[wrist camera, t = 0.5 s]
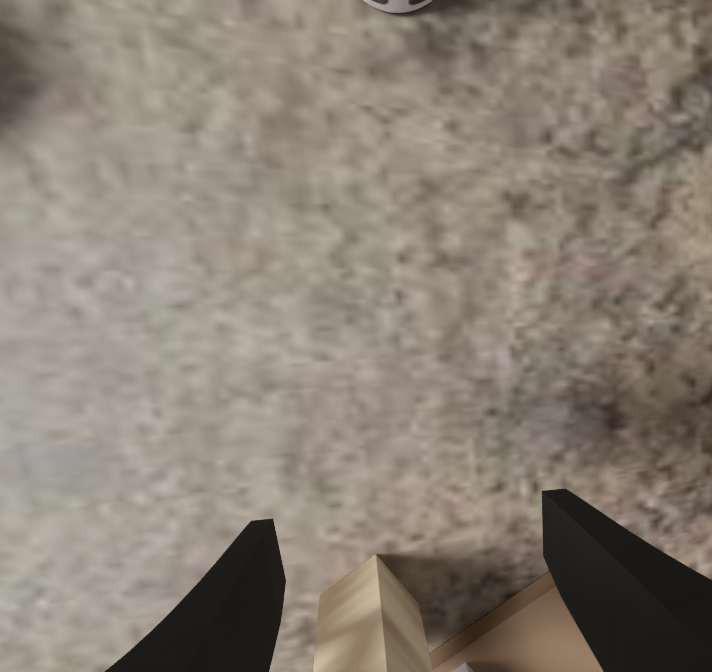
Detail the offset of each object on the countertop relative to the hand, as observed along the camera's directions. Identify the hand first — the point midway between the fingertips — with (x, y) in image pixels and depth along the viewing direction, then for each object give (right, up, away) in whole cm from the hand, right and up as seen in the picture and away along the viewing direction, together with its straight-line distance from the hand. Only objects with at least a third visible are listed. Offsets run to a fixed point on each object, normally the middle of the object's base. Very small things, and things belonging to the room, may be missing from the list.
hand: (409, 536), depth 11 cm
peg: (-1, -10, +13) cm, 16 cm away
